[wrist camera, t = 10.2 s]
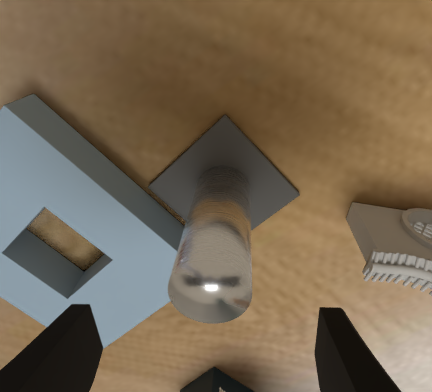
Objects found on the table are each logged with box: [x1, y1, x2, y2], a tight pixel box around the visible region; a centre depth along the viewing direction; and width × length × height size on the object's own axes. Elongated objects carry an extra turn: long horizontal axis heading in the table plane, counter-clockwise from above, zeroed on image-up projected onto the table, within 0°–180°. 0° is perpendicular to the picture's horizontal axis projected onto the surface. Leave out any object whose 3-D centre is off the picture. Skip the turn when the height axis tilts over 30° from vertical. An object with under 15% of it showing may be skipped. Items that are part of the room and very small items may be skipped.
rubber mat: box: [148, 114, 300, 230], centre depth 20 cm, size 6×6×1 cm
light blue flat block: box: [0, 94, 185, 349], centre depth 21 cm, size 13×11×2 cm
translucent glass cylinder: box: [168, 166, 252, 323], centre depth 16 cm, size 3×3×8 cm
